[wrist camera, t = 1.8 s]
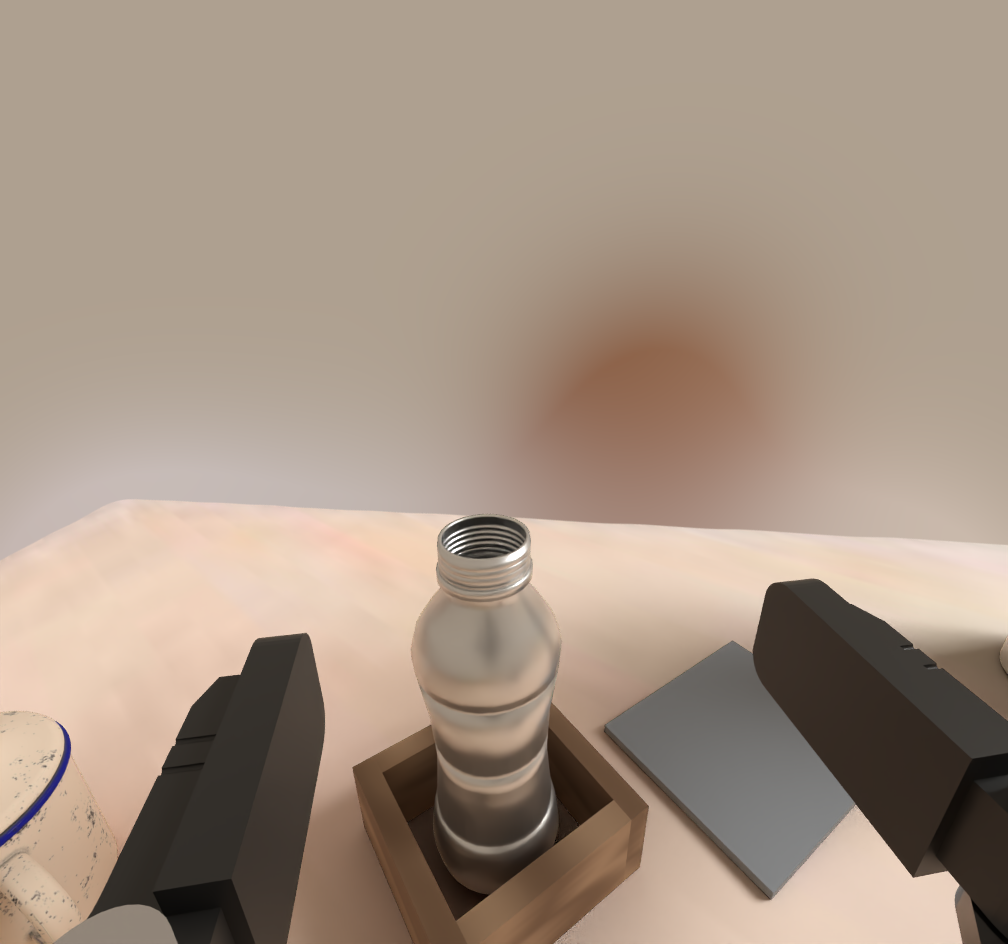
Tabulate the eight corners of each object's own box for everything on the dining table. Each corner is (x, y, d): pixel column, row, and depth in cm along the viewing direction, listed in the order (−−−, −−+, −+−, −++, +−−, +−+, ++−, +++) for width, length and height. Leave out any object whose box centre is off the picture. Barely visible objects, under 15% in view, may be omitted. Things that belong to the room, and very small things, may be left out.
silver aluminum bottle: (578, 885, 27) (599, 562, 19) (450, 937, 25) (413, 603, 17) (532, 775, 33) (533, 488, 25) (425, 811, 31) (387, 513, 23)
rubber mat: (731, 646, 43) (732, 640, 42) (897, 756, 34) (900, 750, 33) (604, 731, 36) (604, 725, 35) (771, 899, 27) (773, 892, 26)
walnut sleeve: (525, 729, 36) (524, 674, 34) (639, 866, 28) (648, 806, 26) (364, 826, 30) (352, 767, 28) (451, 1033, 22) (443, 972, 20)
